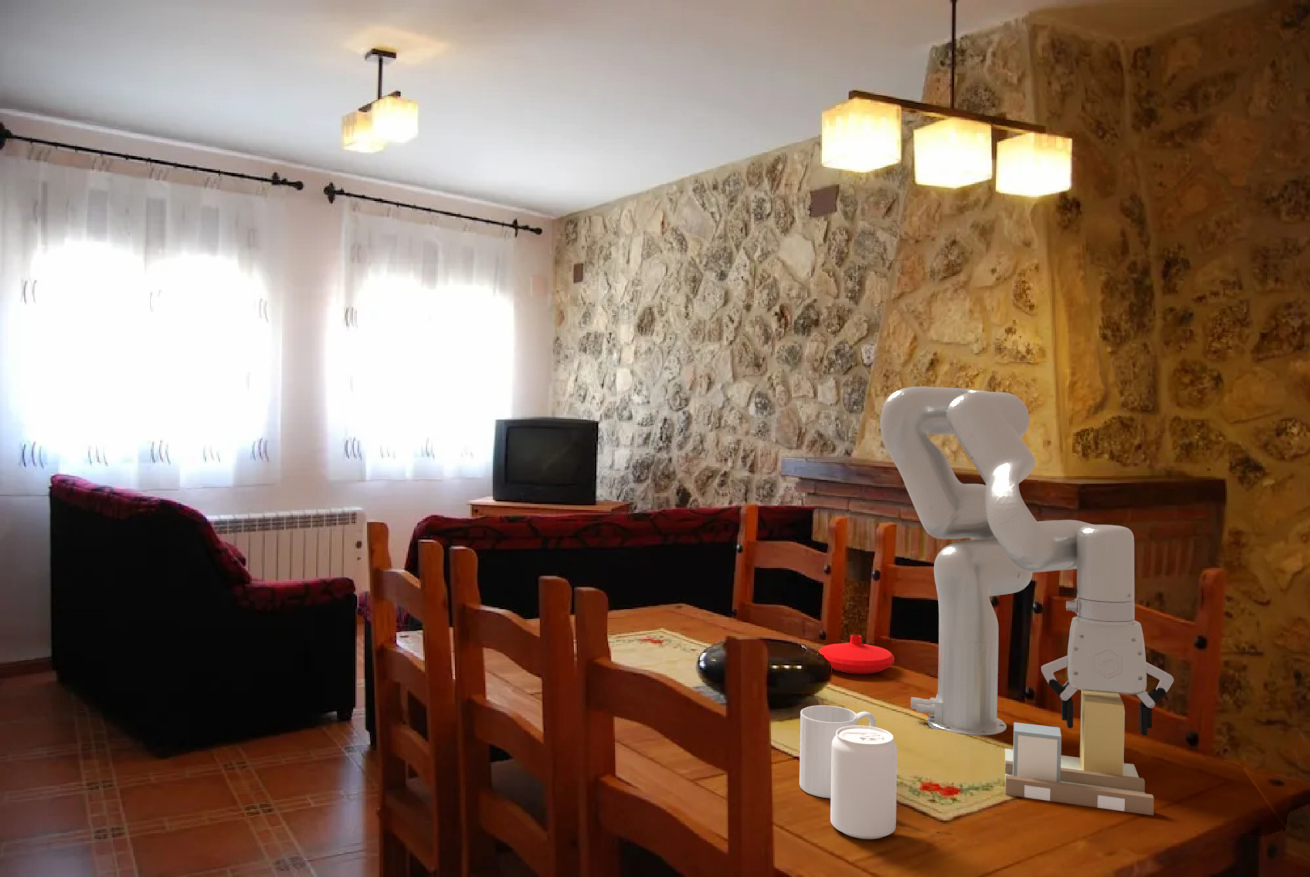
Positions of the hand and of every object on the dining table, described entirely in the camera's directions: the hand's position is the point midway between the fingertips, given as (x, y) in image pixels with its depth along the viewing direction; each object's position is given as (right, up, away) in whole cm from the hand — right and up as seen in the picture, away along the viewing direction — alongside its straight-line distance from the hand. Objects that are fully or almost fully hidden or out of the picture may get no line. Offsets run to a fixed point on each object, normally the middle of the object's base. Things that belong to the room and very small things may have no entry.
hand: (1105, 729), depth 136 cm
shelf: (-6, -7, -1) cm, 9 cm away
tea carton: (0, -7, +1) cm, 7 cm away
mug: (-39, -7, -3) cm, 40 cm away
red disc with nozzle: (-24, -6, +60) cm, 64 cm away
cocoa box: (-12, -6, -5) cm, 15 cm away
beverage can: (-39, -8, -17) cm, 43 cm away
